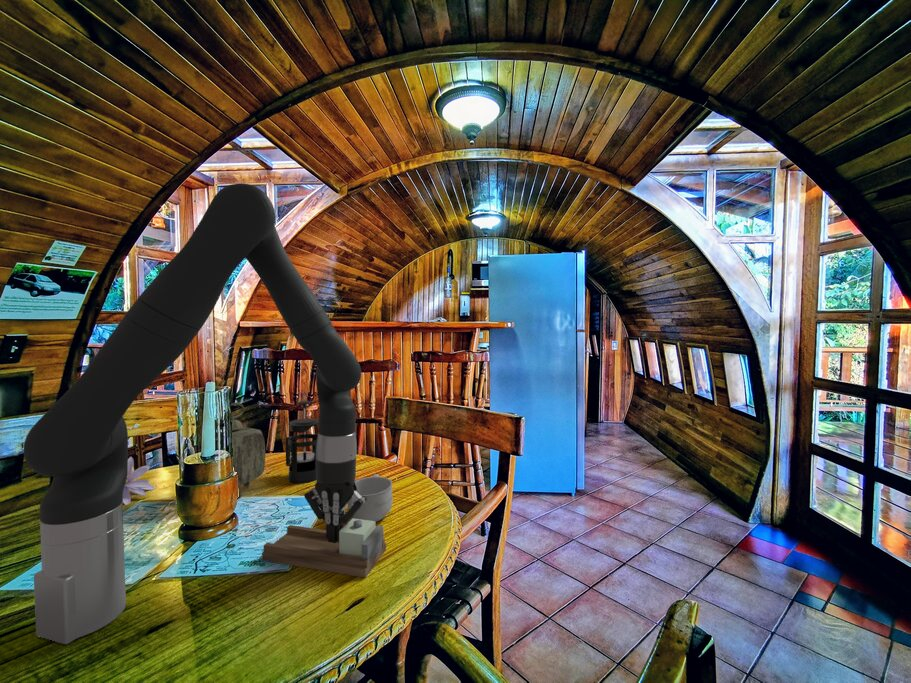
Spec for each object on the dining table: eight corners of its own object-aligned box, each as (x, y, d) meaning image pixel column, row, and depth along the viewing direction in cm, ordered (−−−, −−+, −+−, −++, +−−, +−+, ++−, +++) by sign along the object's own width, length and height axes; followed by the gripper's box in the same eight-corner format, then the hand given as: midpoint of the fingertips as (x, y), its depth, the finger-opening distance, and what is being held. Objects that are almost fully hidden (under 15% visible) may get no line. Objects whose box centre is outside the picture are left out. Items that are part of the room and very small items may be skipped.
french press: (329, 474, 120) (329, 399, 119) (309, 485, 111) (308, 405, 110) (298, 469, 124) (297, 397, 123) (276, 480, 115) (275, 402, 114)
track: (365, 577, 71) (365, 548, 71) (262, 560, 76) (261, 532, 76) (385, 550, 80) (385, 523, 80) (291, 536, 85) (291, 511, 85)
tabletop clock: (248, 483, 113) (247, 397, 112) (269, 489, 109) (268, 400, 108) (195, 503, 100) (193, 406, 99) (216, 511, 96) (214, 410, 95)
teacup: (382, 531, 87) (382, 495, 87) (337, 525, 89) (337, 491, 89) (402, 503, 101) (402, 472, 101) (363, 499, 103) (363, 469, 103)
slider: (363, 561, 73) (363, 530, 73) (339, 557, 74) (339, 527, 74) (375, 545, 78) (375, 517, 78) (352, 542, 79) (352, 514, 79)
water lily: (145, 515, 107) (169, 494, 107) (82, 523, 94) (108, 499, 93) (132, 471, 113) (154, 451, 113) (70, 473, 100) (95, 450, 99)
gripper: (294, 456, 75) (293, 545, 75) (358, 465, 72) (355, 557, 72) (317, 445, 82) (315, 526, 83) (375, 452, 79) (373, 536, 80)
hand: (334, 540), depth 78 cm, fingers closed
